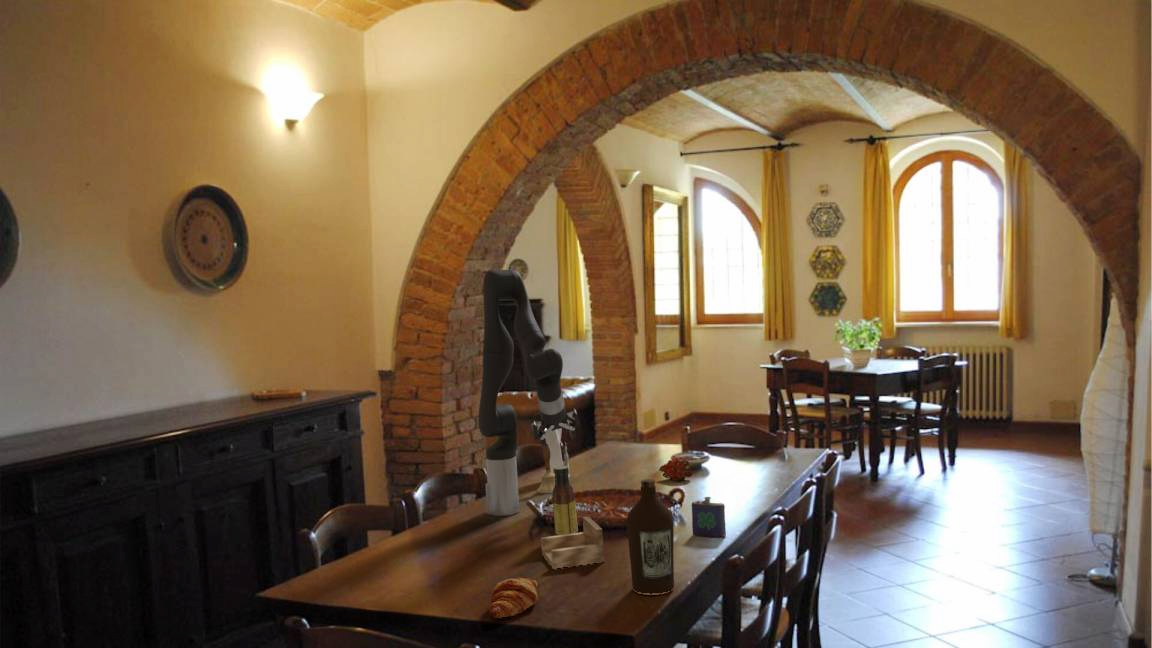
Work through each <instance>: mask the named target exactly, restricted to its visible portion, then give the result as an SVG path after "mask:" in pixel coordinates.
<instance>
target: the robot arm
mask: <svg viewBox="0 0 1152 648" xmlns="http://www.w3.org/2000/svg"><path fill="white" fill-rule="evenodd" d="M482 284H483V285H482V296H483V297H482V299H483V311H484V312H483V321H484V322H483V323H484V326H483V345H482V374H481V375H482V378H481V380H482V381H481V391H480V399H479V405H478V406H479V408H478V417H477V419H478V423H477V425H478V428H479V431H480V434H481V435H482V436H483V437H485V438H492V437H494V438H495V437H498V438H497V440H495V442H493V444H492V445H490V446H488V447H487V449H486V450H485V458H486V459H485V460H486V474H487V476H486V477H487V482H486V483H485V499H486V500H485V501H486V514H487V515H491V516H497V517H499V516H500V517H502V516H506V517H507V516H512V515H516V514H518V513H519V512H520V500H519V497H520V496H519V484H518V480H519V479H518V466H517V450H518V449H517V448H518V419H517V413H516V411H515V409H514V407H513V406H512V405H510V404H506V403H504V404H498V405H497V403H498V396H499V393H500V391H501V389H502V386H503V385H504V384H505V381H506V380H507V379H508V377H509V375H510V373H511V371H512V368H513V365H514V351H515V348H514V347H515V346H514V345H515V344H514V341H513V338H512V337H511V335H510V333H509V331H508V330H507V328H506V326H505V325H504V323H503V320H502V319H501V314H500V304H499V303H500V302H503V301H505V302H506V301H513V303H515V305H516V313H515V318H514V320H513V331H514V334H515V337H516V338H517V342H518V343H519V345H520V348H521V350H522V353H523V354H522V355H523V357H524V369H525V372H526V375H527V377H529V379H531V380H533V381H535V382H534V384H535V391H536V394H537V395H536V396H537V405H538V409H539V415H540V420H539V421H535V420H531V422H530V423H531V433H532V436H533V438H534V440H535V441H537V440H540V442H541V446H543V447H544V446H545V447H546V446H547V444H546V439H545V437H546V435H548V434H549V433H550V431H551V430H552V431H554V430H556V429H560V428H562V429H563V428H565V429H566V430H569V435H570V437H571V439H574V438H575V437H576V435H577V434H576V428H581V423H580V420H579V415H578V413H577V410H576V408H572V409H571V411H569V412H567V410H566V403H565V398H564V394H563V392H562V387H561V377H562V373H563V368H564V366H563V365H564V363H563V357H562V355H561V353H560V352H559V351H558V350H556V349H555V348H548V349H545V350H543V349H544V348H545V346H546V342H547V341H546V338H545V336H544V334H543V333H542V330H541V328H540V326H539V324H538V322H537V320H536V318H535V316H534V313H533V310H532V309H533V308H532V306H531V301H530V299H529V295H528V292H527V289H526V286H525V282H524V279H523V277H522V275H521V274H520V272H519V271H517V269H516V270H515V269H491V270H488V271H486V273H485V274H484V277H483V283H482ZM542 350H543V351H542ZM569 419H573V422H572V421H570V420H569ZM540 427H541V429H540ZM539 429H540V430H539ZM538 430H539V431H538Z"/></svg>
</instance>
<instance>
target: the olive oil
mask: <svg viewBox="0 0 1152 648" xmlns="http://www.w3.org/2000/svg"><path fill="white" fill-rule="evenodd" d="M655 483H656V480H654V479H651V478H645V479H641V480H640V485H641V486H640V495H641V496H640V497H639V499H638V501H636V503H635V504H634V506H632V508H631V509H630V510H629V512H628V514H627V519H626V532H627V540H628V551H629V553H628V554H629V562H630V571H631V583H632V584H631V585H632V586H631V587H632V590H633V589H634V590H635V591H637V592H641V593H650V594H652V593H663V592H668V591H671V590H672V589H673V588H674V589H675V577H674V575H675V572H674V571H675V570H674V569H675V567H674V564H675V563H674V559H675V557H674V556H675V555H674V537H675V536H674V531H675V530H674V525H675V524H674V523H675V522H674V519H673V516H672V512H671V510H670V509H669V508H668V507H667V506H666V504H664V503H663V502H662V501H661V500H660V499H659V498H658V497H657V489H656V488H657V487H656V485H655ZM674 589H673V590H674ZM671 592H672V591H671Z"/></svg>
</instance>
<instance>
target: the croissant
mask: <svg viewBox="0 0 1152 648" xmlns="http://www.w3.org/2000/svg"><path fill="white" fill-rule="evenodd" d="M538 598H539V597H538V583H537V580H535V579H534V580H533V579H530V578H522V577H513V578H508V579H505V580H502V581H500V582H498V583H497V584H496V586H495V587H493V589H492V591H491V595H490V606H489V608H488V612H489V614H490V616H491V617H492V618H494V619H496V618H501V619H503V618H502V617H508V616H512V615H514V614H516V613H518V612H521V611H524V610H526V609H527V608H529V607H530V606H532V605H533V604H534V605H535V604H536V603H537V601H538ZM534 605H533V606H534ZM533 606H532V607H533ZM529 609H530V608H529Z"/></svg>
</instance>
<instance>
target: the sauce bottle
mask: <svg viewBox="0 0 1152 648" xmlns="http://www.w3.org/2000/svg"><path fill="white" fill-rule="evenodd" d="M568 471H569V472H570V469H569V470H568V467H567V466H565V465H563V466H557V467H555V468H554V474H555V486H554V489H553V493H552V509H553V518H554V520H553V521H554V530H555V534H556V535H555V536H557V535H565V534H573V533H579V532H578V531H579V527H578V518H577V517H578V514H577V507H576V499H575V491H574V488H573V486H572V485H571V483H570V478H568Z"/></svg>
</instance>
